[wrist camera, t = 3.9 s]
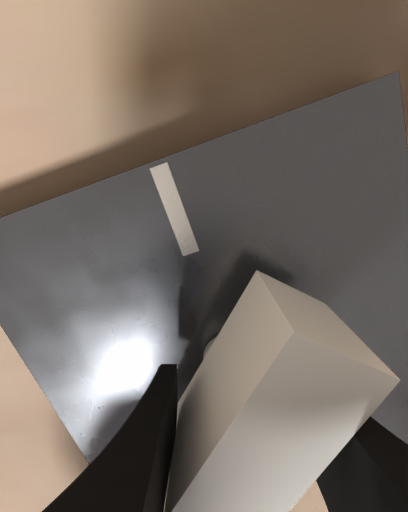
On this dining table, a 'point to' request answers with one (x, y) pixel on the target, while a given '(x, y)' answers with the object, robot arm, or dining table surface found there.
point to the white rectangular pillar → (271, 403)
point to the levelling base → (213, 255)
